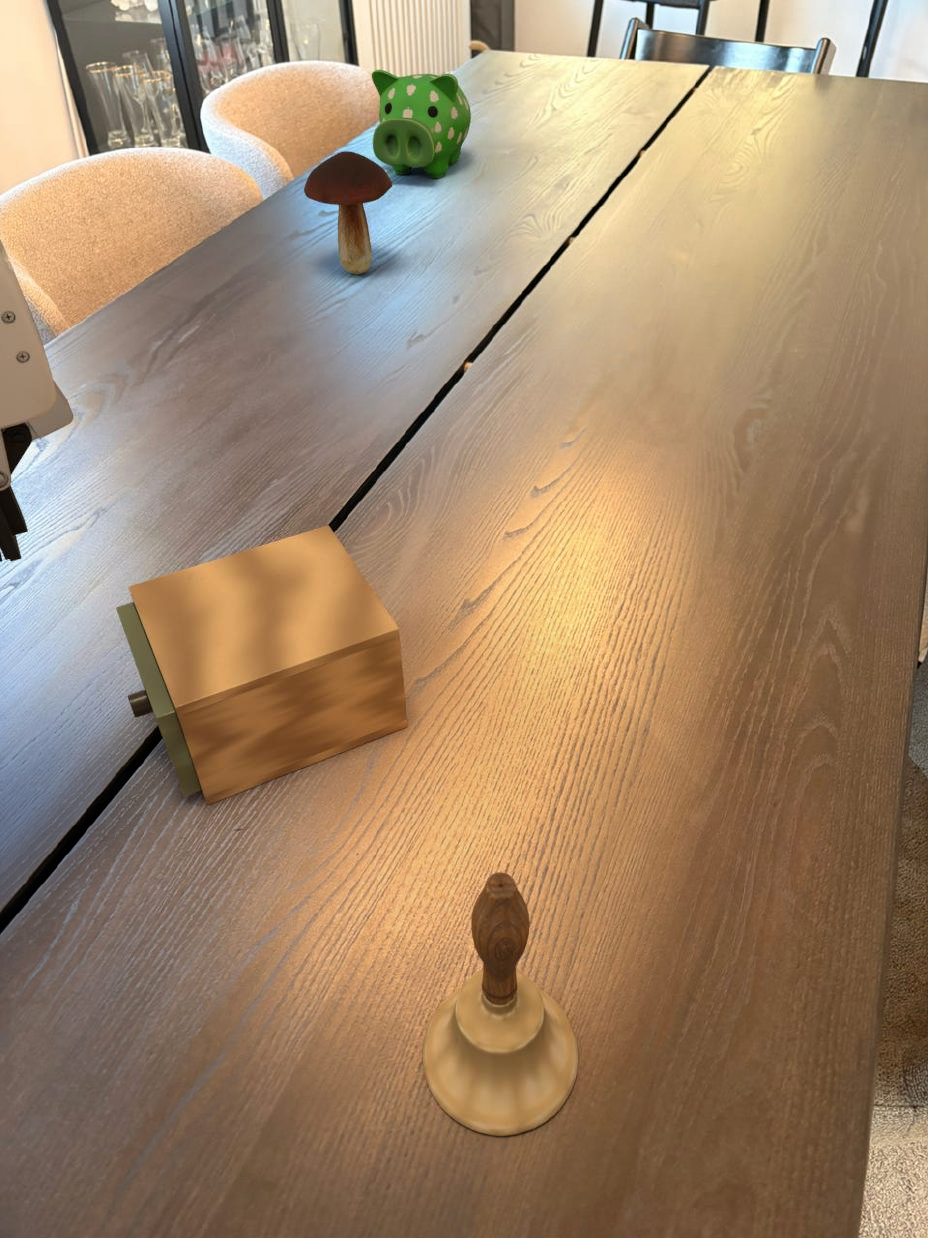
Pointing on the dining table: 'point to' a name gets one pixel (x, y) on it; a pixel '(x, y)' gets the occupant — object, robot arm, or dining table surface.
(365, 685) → the cabinet
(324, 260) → the dining table surface
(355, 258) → the decorative mushroom
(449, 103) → the piggy bank
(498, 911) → the hand bell
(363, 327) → the dining table surface
